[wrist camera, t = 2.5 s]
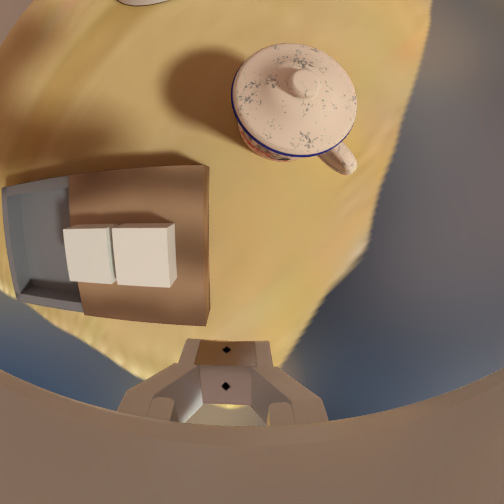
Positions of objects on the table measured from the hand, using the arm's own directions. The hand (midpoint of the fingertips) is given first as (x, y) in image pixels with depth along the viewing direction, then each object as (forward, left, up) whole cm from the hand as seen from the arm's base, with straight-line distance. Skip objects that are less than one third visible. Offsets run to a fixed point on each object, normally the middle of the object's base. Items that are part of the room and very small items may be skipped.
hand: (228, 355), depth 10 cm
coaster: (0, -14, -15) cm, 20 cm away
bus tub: (0, -24, -19) cm, 30 cm away
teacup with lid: (-12, +5, -19) cm, 23 cm away
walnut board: (0, -10, -19) cm, 21 cm away
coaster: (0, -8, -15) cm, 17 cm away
